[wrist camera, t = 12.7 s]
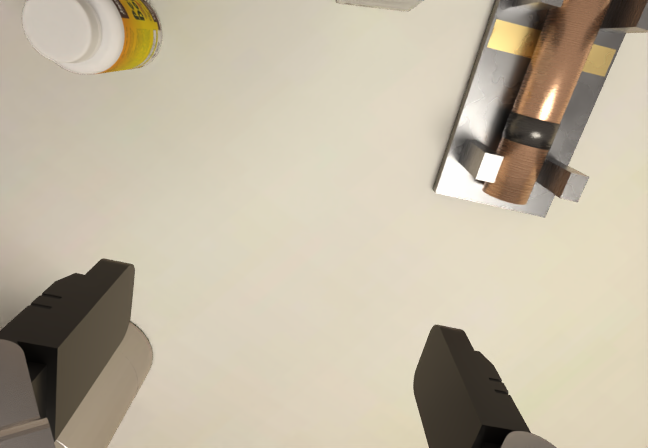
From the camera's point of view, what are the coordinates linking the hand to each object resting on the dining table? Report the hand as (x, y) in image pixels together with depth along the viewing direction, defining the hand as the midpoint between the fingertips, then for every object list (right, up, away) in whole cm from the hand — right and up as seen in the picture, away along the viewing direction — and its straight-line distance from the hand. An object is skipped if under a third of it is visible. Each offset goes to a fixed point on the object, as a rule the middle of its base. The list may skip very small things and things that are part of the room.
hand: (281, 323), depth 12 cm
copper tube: (+18, +13, +24) cm, 32 cm away
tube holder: (+18, +14, +25) cm, 33 cm away
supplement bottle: (-14, +18, +24) cm, 33 cm away
